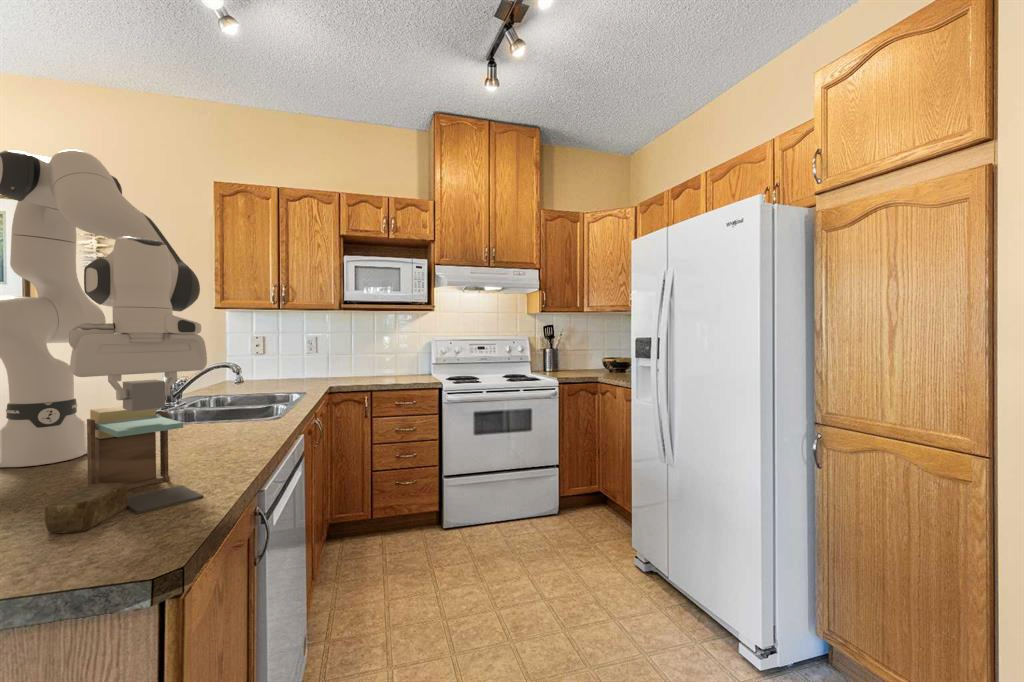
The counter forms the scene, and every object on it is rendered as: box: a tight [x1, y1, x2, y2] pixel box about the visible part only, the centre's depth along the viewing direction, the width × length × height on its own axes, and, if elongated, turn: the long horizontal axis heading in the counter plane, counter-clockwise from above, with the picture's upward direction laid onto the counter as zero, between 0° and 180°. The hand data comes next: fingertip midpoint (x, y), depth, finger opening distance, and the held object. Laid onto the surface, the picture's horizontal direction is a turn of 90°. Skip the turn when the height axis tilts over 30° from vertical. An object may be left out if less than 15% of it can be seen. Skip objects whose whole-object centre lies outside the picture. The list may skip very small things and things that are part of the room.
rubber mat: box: [126, 484, 204, 515], centre depth 87 cm, size 10×10×1 cm
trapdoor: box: [89, 405, 184, 439], centre depth 92 cm, size 18×10×5 cm, turn 55°
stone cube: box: [122, 379, 166, 411], centre depth 88 cm, size 5×5×5 cm
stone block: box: [44, 483, 129, 534], centre depth 78 cm, size 6×12×5 cm, turn 10°
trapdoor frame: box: [77, 410, 171, 490], centre depth 95 cm, size 8×13×14 cm, turn 145°
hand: (144, 397), depth 88 cm, fingers closed on stone cube, 5 cm apart
